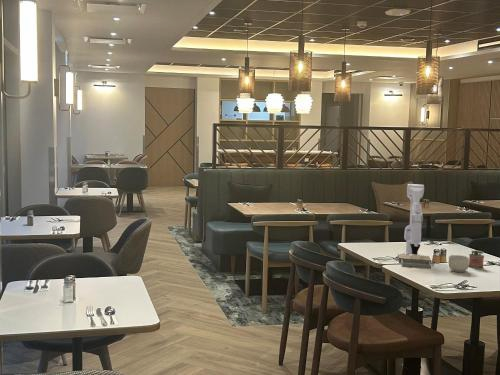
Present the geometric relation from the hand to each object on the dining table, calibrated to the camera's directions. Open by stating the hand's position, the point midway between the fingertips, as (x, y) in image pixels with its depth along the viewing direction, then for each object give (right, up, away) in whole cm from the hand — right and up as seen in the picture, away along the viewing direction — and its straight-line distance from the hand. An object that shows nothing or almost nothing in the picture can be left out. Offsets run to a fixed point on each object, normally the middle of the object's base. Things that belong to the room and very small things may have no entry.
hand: (414, 256), depth 356 cm
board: (0, -3, +1) cm, 3 cm away
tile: (-1, -1, -3) cm, 4 cm away
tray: (-2, -4, -11) cm, 12 cm away
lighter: (+32, -6, -10) cm, 34 cm away
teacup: (+19, -6, -19) cm, 27 cm away
